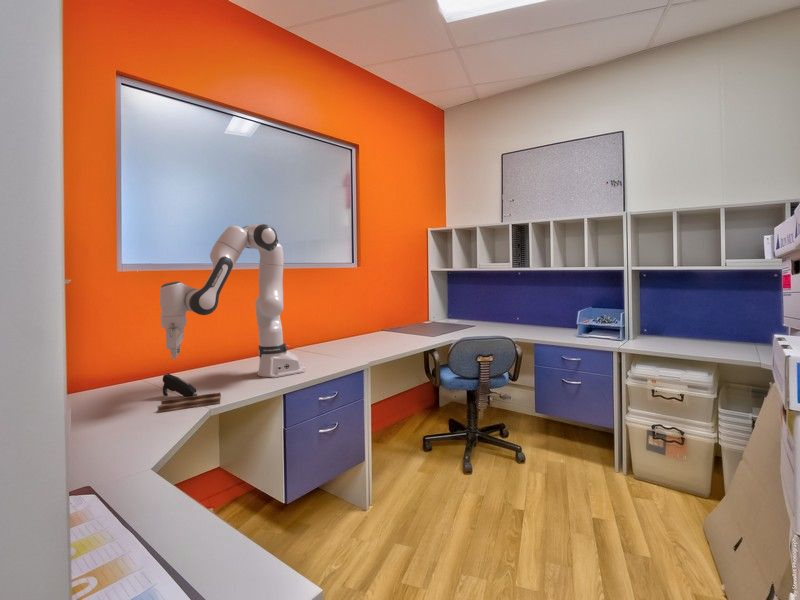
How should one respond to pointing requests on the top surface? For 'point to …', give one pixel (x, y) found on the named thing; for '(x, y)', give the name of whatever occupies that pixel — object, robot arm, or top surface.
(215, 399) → the walnut stand
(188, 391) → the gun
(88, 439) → the top surface
